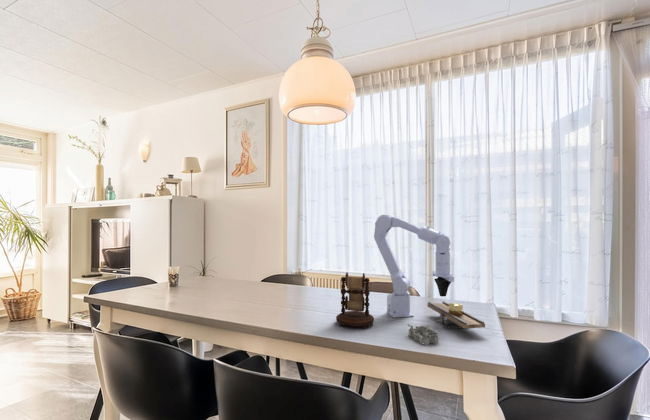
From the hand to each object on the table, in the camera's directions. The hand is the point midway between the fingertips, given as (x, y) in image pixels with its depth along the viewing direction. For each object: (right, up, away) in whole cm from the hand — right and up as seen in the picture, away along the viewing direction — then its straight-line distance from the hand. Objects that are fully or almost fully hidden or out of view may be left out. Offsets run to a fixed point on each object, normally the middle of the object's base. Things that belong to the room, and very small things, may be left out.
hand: (442, 296), depth 134 cm
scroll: (-37, -9, -7) cm, 39 cm away
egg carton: (-15, -9, -23) cm, 29 cm away
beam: (+1, -6, -8) cm, 10 cm away
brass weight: (+1, -4, -9) cm, 11 cm away
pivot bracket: (+1, -9, -8) cm, 12 cm away
